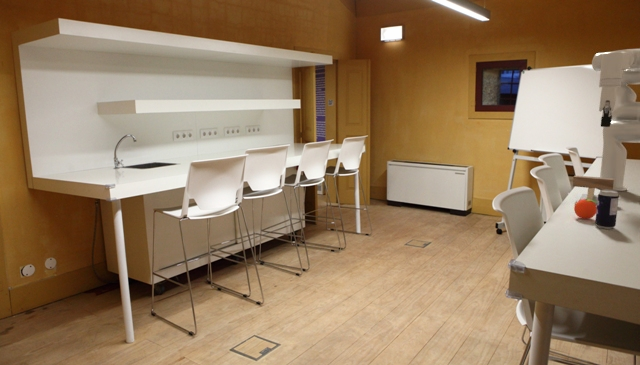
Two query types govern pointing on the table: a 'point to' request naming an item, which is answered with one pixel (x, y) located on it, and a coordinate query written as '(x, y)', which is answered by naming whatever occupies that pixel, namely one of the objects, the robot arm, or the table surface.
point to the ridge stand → (590, 195)
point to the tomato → (585, 208)
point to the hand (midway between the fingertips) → (605, 125)
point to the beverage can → (607, 209)
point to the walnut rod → (593, 182)
